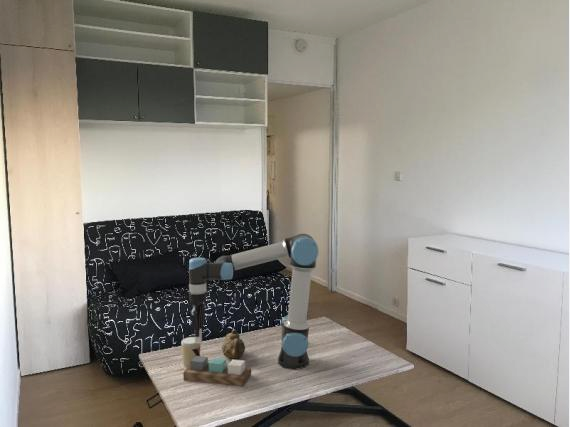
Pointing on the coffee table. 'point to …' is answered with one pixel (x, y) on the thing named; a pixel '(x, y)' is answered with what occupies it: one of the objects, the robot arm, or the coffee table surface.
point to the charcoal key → (199, 363)
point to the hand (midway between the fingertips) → (198, 342)
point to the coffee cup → (189, 350)
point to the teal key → (217, 365)
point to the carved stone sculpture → (233, 346)
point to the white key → (236, 367)
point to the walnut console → (217, 376)
